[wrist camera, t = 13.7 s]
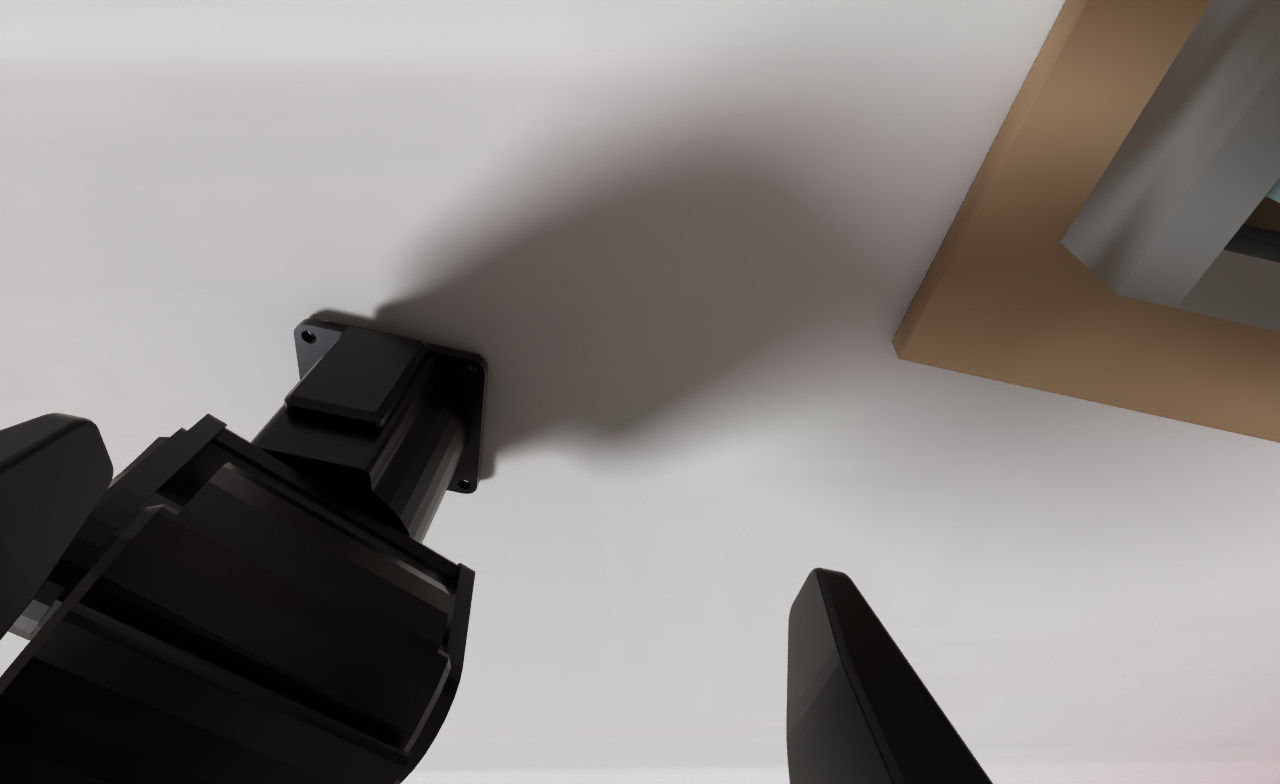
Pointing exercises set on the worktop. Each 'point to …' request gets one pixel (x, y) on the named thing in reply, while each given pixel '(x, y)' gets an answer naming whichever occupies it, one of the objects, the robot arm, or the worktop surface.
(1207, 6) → the caddy
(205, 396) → the worktop surface
